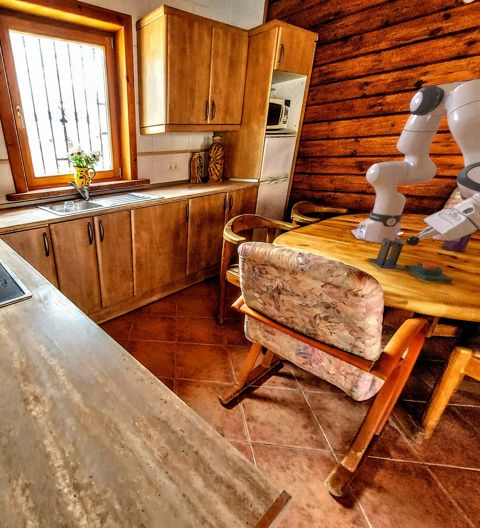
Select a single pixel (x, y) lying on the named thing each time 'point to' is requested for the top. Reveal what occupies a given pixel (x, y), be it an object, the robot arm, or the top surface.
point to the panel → (428, 273)
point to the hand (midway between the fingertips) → (418, 237)
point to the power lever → (406, 241)
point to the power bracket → (393, 256)
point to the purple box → (457, 243)
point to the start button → (430, 265)
